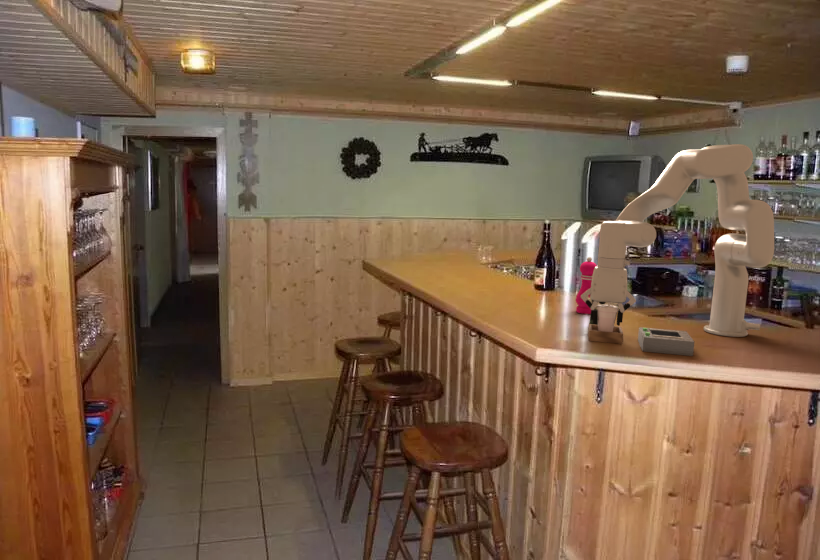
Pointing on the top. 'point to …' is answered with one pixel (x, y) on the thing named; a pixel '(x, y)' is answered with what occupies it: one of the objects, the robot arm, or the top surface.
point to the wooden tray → (605, 334)
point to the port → (665, 341)
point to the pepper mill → (585, 285)
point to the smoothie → (606, 317)
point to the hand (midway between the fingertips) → (605, 323)
